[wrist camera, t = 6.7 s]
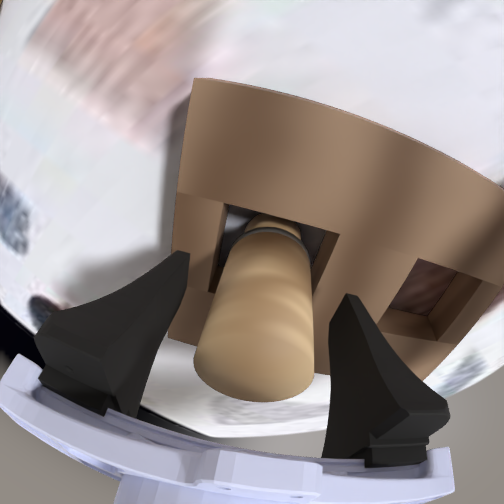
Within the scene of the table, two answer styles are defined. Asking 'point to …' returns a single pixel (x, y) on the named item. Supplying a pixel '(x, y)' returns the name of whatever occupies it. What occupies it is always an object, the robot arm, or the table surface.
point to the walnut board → (337, 213)
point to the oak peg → (261, 317)
